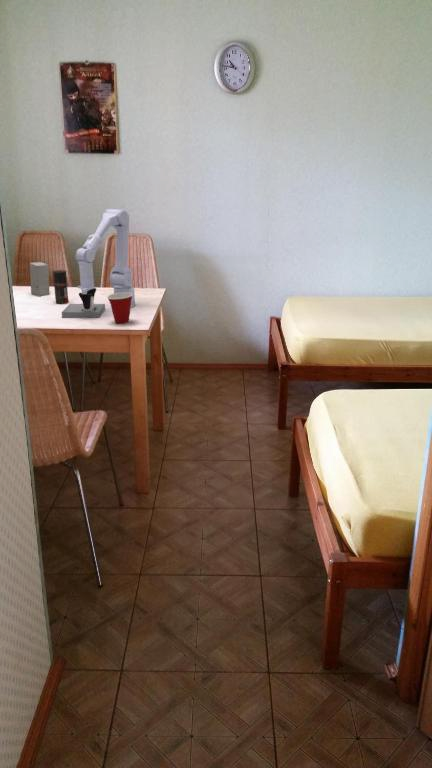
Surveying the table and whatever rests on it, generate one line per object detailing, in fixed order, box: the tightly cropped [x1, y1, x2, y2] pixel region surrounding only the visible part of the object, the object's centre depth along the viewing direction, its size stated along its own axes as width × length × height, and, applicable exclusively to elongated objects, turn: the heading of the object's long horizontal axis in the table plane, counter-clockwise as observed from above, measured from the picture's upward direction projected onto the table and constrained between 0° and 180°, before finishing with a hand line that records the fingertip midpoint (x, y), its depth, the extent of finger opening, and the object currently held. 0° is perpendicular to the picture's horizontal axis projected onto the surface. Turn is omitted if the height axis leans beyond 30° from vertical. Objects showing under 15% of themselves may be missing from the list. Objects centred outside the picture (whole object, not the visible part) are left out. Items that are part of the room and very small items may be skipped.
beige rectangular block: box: [83, 296, 95, 311], centre depth 274 cm, size 4×4×8 cm
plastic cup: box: [106, 292, 133, 325], centre depth 262 cm, size 11×11×12 cm
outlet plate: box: [61, 303, 106, 319], centre depth 277 cm, size 16×16×2 cm
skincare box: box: [29, 261, 51, 297], centre depth 312 cm, size 8×7×16 cm
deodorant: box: [52, 269, 69, 305], centre depth 295 cm, size 6×6×15 cm
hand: (88, 306), depth 274 cm, fingers open, 7 cm apart
